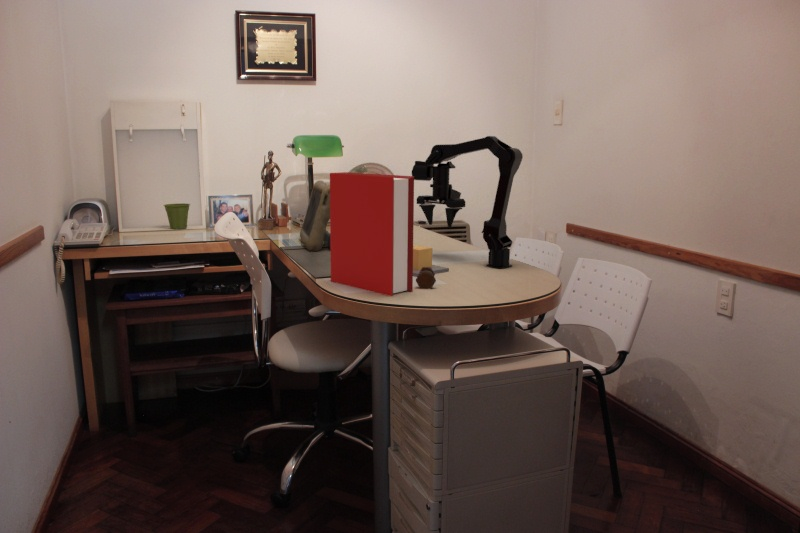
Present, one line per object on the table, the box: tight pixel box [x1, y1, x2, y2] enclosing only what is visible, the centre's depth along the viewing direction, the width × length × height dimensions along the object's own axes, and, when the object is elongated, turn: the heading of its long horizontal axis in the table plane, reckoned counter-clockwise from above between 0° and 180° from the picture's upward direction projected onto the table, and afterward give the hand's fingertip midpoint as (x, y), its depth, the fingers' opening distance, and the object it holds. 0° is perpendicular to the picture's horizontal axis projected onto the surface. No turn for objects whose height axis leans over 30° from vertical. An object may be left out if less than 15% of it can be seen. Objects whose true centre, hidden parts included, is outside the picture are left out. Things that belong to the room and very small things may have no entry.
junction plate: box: [413, 264, 450, 278], centre depth 209 cm, size 14×14×5 cm
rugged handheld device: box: [299, 180, 331, 252], centre depth 257 cm, size 33×14×25 cm, turn 19°
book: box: [329, 171, 415, 297], centre depth 184 cm, size 27×8×32 cm, turn 46°
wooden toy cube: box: [413, 245, 433, 270], centre depth 209 cm, size 6×6×6 cm
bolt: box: [415, 267, 437, 290], centre depth 191 cm, size 6×5×15 cm
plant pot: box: [163, 203, 191, 230], centre depth 301 cm, size 12×12×11 cm
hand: (439, 226), depth 227 cm, fingers open, 9 cm apart
